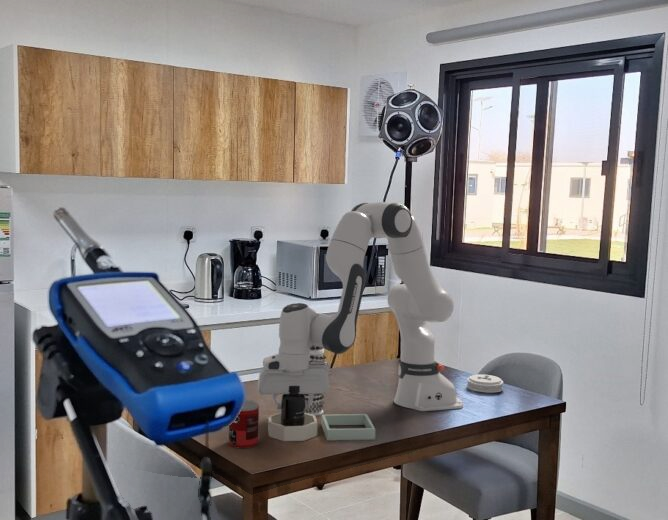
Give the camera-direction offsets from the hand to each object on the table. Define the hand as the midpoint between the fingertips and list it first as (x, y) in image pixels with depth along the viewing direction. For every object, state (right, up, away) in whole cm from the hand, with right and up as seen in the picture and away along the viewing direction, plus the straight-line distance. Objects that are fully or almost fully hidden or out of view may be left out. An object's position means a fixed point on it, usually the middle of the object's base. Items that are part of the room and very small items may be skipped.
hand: (293, 408), depth 209 cm
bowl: (0, -7, +1) cm, 7 cm away
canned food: (-13, -8, -9) cm, 18 cm away
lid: (+65, -4, +52) cm, 84 cm away
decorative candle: (+4, -5, +20) cm, 21 cm away
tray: (+16, -7, +3) cm, 17 cm away
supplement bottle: (0, -5, 0) cm, 5 cm away
